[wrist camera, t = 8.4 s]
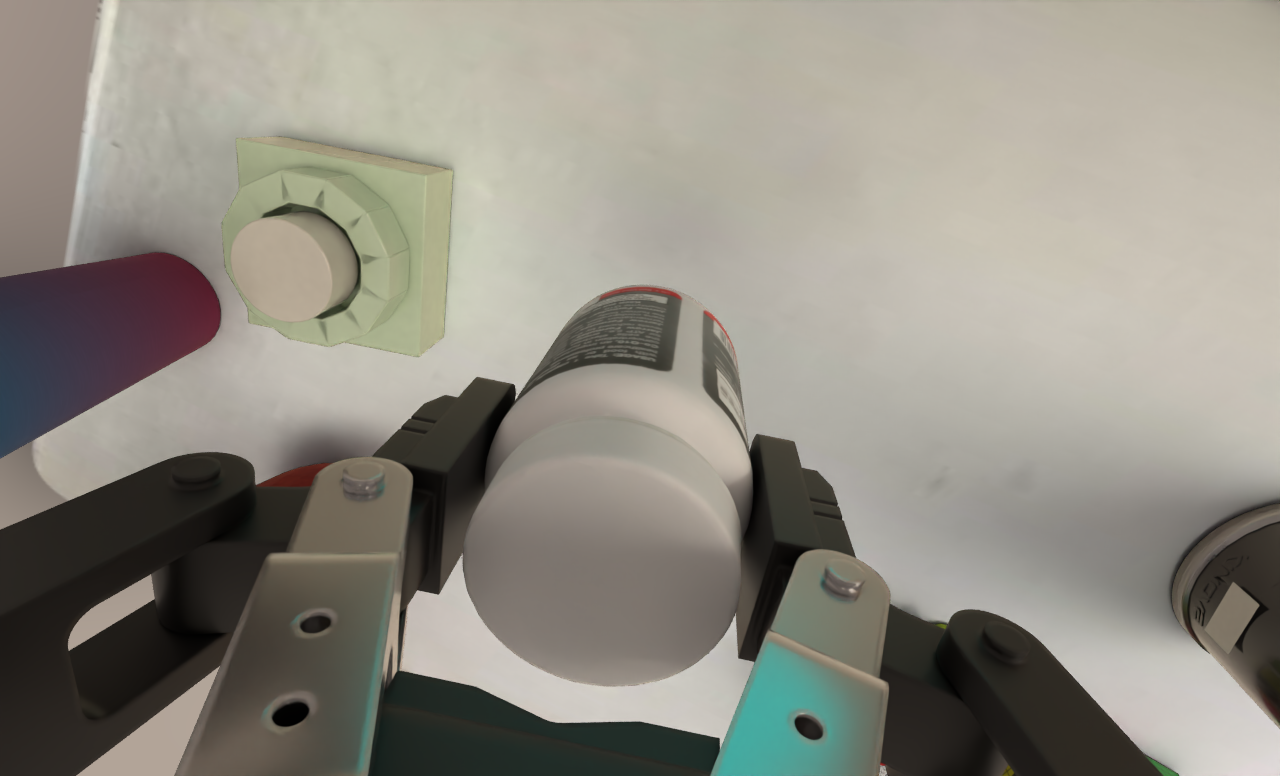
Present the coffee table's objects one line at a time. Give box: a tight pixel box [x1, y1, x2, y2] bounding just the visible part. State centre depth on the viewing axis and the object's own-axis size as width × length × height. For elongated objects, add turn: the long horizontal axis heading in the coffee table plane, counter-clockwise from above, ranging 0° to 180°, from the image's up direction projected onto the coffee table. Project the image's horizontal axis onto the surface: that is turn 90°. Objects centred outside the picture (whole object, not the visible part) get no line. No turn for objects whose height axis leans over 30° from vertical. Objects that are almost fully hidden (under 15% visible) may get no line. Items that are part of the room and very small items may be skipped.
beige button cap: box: [230, 211, 358, 322], centre depth 26 cm, size 4×4×2 cm
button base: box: [221, 136, 453, 357], centre depth 28 cm, size 8×8×5 cm
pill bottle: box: [463, 285, 753, 686], centre depth 13 cm, size 5×5×8 cm
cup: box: [0, 252, 220, 458], centre depth 26 cm, size 7×7×15 cm
